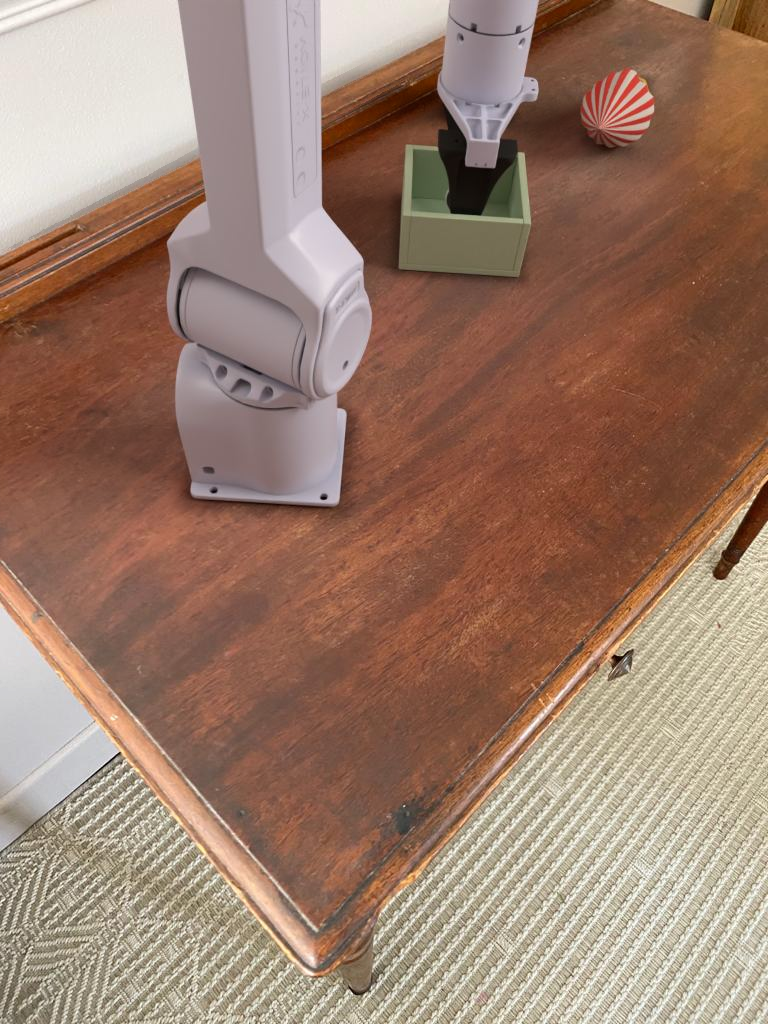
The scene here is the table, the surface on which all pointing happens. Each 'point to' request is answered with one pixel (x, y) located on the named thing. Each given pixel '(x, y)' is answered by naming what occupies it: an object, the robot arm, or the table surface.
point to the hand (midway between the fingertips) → (464, 196)
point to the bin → (461, 221)
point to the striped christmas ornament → (617, 109)
